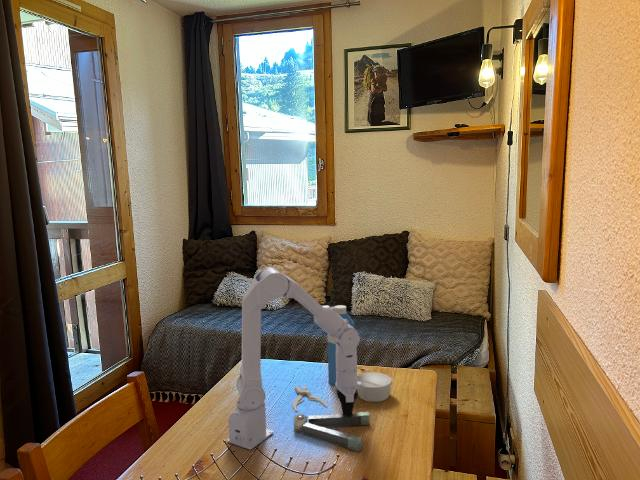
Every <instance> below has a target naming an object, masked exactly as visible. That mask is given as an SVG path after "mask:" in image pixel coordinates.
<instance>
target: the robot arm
mask: <svg viewBox="0 0 640 480" xmlns="http://www.w3.org/2000/svg"><path fill="white" fill-rule="evenodd" d="M281 297H284V298H286V299H294V300H295V301H296V302H298V304H300V305H301V306H303V308H305V309H306V310H308V311H309V312H310V313H311V314H312V316H313V322H314V324H316V325H317V326H318V327H319V328H320V329H322V330H323V331H324V332H325V333H326V334H327V335H328V334H329V335H330V336H331V337H333V339H334V340H336V341H337V342H338V343H337V342H336V386H335V388H336V389H335V391H336V395H337V399H338V400H339V401H340V407H341V410H342V414H353V411H354V406H355V402H356V401H357V398H358V397H359V395H358V391H357V388H358V387H361V386H362V384H361V382H357V376H358V355H357V354H358V352H357V347H358V345H359V344H360V340H361V337H360V336H359V332H358V330H357V329H356V328H355V327H354V328H353V327H352V326H351V325H349V321H348V320H347V319H343V318H342V317H341V316H340V315H338V314H337V313H336V311H337V310H336V309H335V308H334V306H330V305H321V304H320V302H318V301H317V300H316V299H315V298H313V296H311V295H310V294H309V292H307V291H306V290H305V289H304V288H303V287H302V286H301V285H299V284H298V283H297V281H294V280H293V279H292V278H290V277H289V276H287V275H286V274H285V273H281V272H280V271H279V269H277V268H276V267H272V266H271V267H270V266H267V267H264V268H263V269H261V270H260V271H258V272H257V274H255V275H254V278H253V280H252V282H251V283H250V285H249V286H248V288H247V290H246V292H245V293H244V295H243V296H242V300H241V365H240V366H241V367H240V369H239V370H240V371H239V372H240V373H239V376H238V378H237V380H236V384H235V385H236V390H237V392H238V395H239V397H238V399H237V401H236V407H235V409H234V410H233V412H232V413H231V414H230V415H229V417H228V437H229V438H227V439H226V441H227V443H230V444H232V445H235V446H238V447H241V448H243V449H248V450H253V449H254V448H255V447H256V446H258V445H259V444H260V443H262V442H263V441H265V440H266V439H267V438H269V437H270V436H272V435H273V434H274V430H272V429H268V428H267V415H266V414H267V413H266V391H265V390H264V388H263V380H262V379H263V378H262V371H261V362H262V361H261V358H262V357H261V355H262V354H261V347H262V346H261V345H262V341H261V340H262V338H261V337H262V335H261V334H262V309H263V308H264V307H265V306H266V305H267V304H268V303H270V302H272V301H274V300H276V299H279V298H281Z"/></svg>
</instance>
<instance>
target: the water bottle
mask: <svg viewBox="0 0 640 480" xmlns="http://www.w3.org/2000/svg"><path fill="white" fill-rule="evenodd" d="M333 307H334V308H335V309H336V310H337V311H336V313H337V314H338V315H340V316H341V317H342V318H343V319H347V320H348V321H349V325H351V326H352V327H353V328H354V329H355V321H354V320H353V319H352V318H351V316H350V315H349V314H348V312H347V306H346V305H342V304H341V305H340V304H339V305H334V306H333ZM336 342H337V341H336V340H334V339H333V337H331V336H330V335H329V334H327V363H328V364H327V367H328V368H327V369H328V371H327V375H328V377H327V378H328V384H330V385H333V386H334V387H336ZM337 343H338V342H337Z"/></svg>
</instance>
